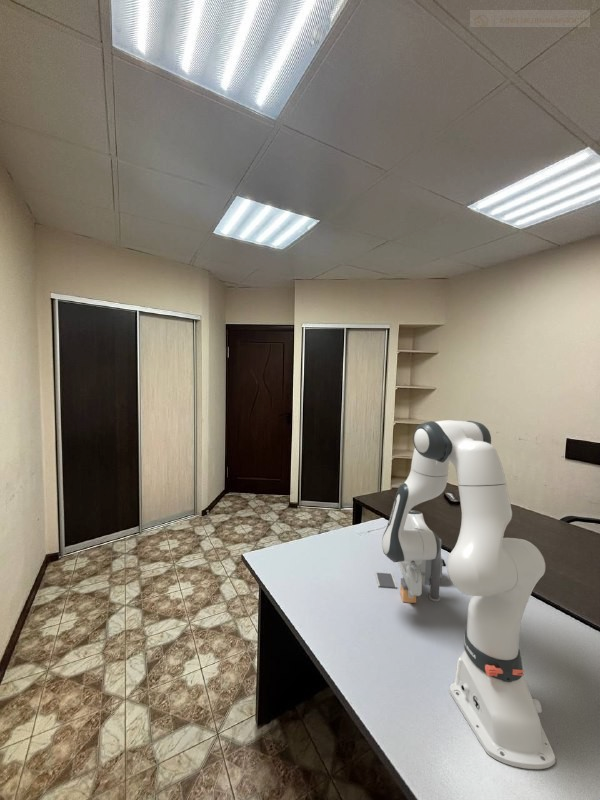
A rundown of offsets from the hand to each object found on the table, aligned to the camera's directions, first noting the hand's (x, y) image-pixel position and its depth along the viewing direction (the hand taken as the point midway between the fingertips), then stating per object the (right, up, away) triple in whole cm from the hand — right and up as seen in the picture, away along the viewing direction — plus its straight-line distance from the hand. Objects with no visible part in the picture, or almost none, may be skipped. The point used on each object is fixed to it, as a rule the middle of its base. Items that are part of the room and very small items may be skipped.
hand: (408, 591), depth 117 cm
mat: (-5, -2, +11) cm, 12 cm away
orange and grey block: (0, -2, 0) cm, 2 cm away
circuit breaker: (+11, -3, +12) cm, 17 cm away
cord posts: (+11, -2, +12) cm, 17 cm away
